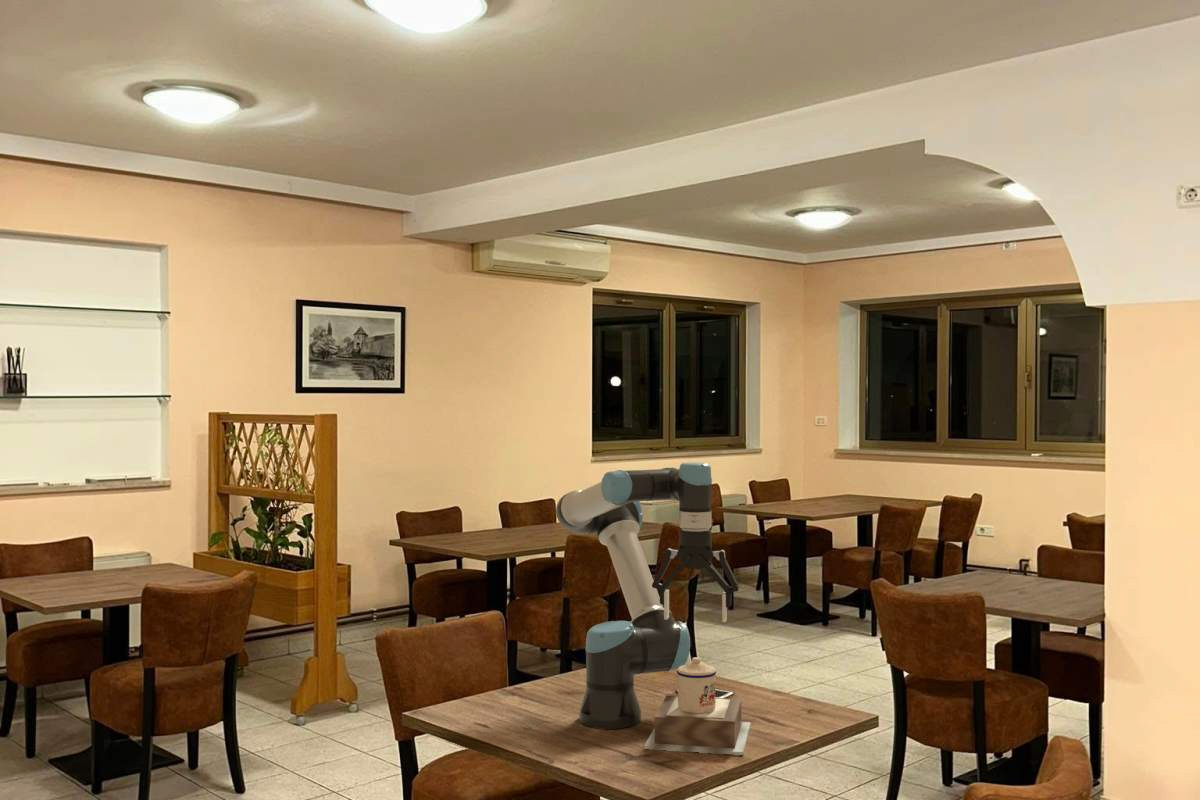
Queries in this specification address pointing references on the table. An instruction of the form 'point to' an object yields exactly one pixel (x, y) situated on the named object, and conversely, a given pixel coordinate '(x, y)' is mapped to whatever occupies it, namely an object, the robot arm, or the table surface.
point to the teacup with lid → (696, 687)
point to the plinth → (699, 728)
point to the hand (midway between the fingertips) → (695, 619)
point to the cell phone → (720, 693)
